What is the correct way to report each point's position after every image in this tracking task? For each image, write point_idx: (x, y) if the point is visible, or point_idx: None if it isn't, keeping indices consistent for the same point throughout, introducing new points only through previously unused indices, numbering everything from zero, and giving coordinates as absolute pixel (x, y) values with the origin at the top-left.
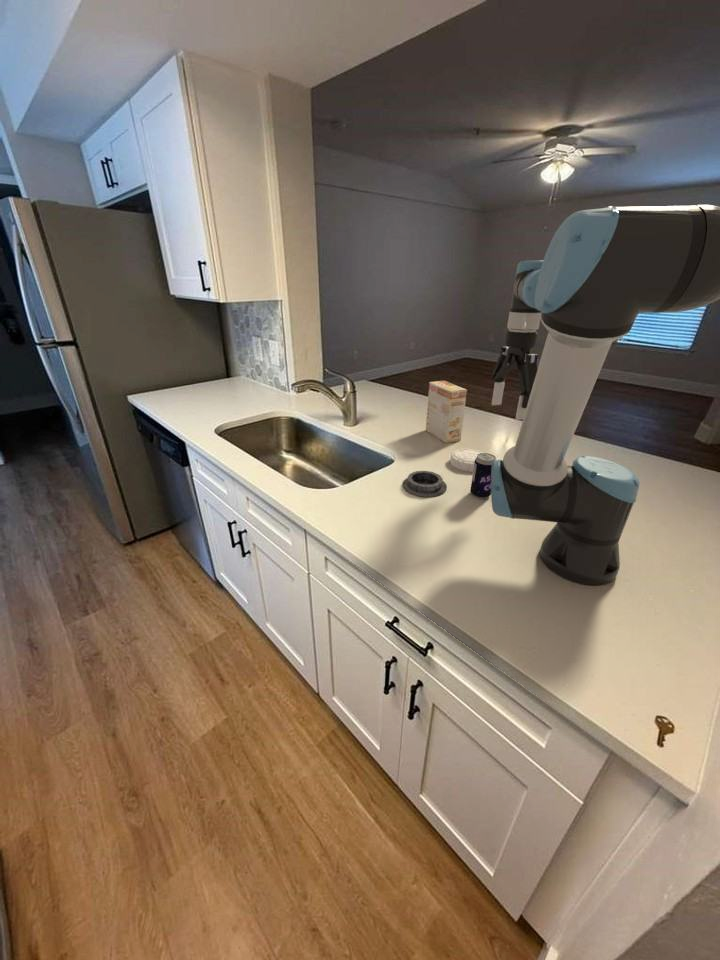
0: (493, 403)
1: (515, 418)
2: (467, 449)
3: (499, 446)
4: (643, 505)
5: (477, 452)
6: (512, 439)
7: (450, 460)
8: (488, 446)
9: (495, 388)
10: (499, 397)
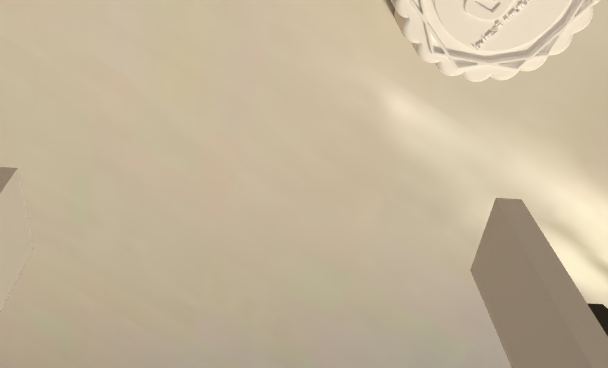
0: (500, 214)
1: (14, 170)
2: (575, 9)
3: (574, 215)
4: (13, 355)
5: (512, 44)
6: (600, 295)
7: None
8: (602, 172)
9: (569, 334)
10: (503, 300)
